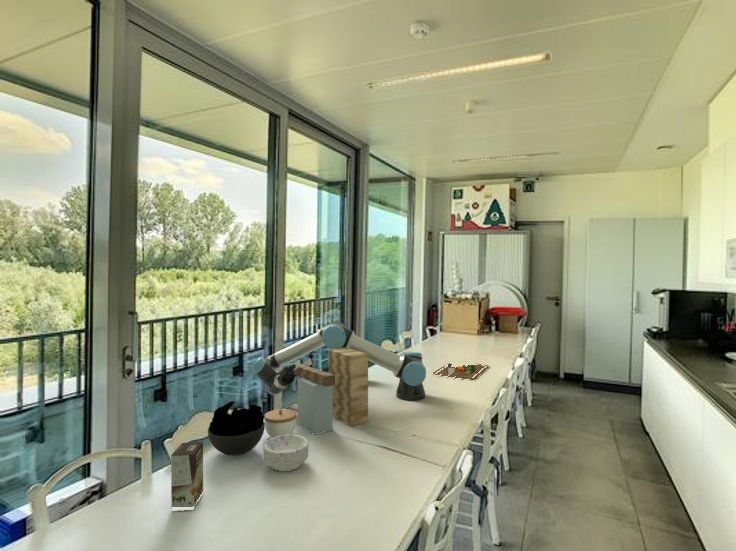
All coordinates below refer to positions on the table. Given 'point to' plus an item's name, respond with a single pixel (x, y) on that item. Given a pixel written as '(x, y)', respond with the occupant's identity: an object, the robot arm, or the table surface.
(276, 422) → the lidded bowl
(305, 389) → the base block
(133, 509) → the table surface
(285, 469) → the paper bowls
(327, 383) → the walnut block
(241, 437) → the coal bowl
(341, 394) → the tall stand
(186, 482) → the coffee box
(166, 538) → the table surface
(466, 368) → the chopping board
